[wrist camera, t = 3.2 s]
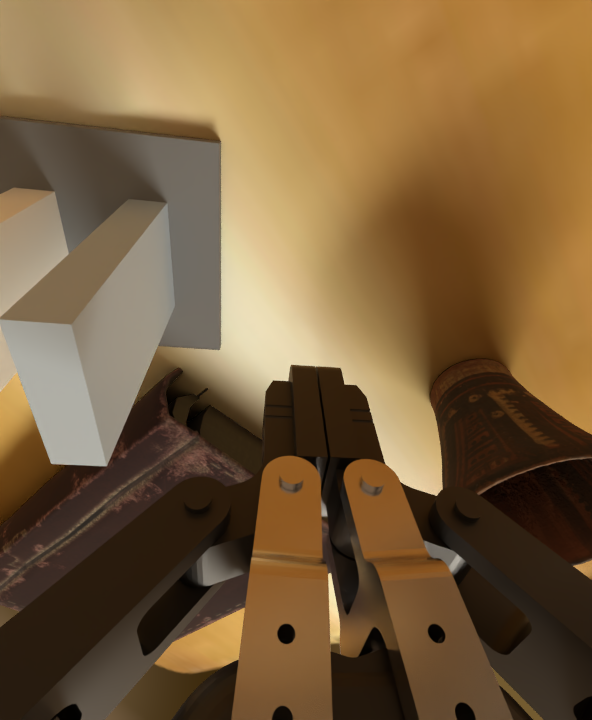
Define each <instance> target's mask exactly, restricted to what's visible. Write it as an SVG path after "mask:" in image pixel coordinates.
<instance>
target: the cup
mask: <svg viewBox="0 0 592 720" xmlns="http://www.w3.org/2000/svg"><path fill="white" fill-rule="evenodd" d="M430 401H431V406H432V408H433V410H434V413H435V416H436V421H437V426H438V432H439V438H440V445H441V455H442V482H443V489H445V488H447V487H463V488H466V489H469V490H471V491H473V492H475V493H477V494H478V495H480V496H481V497H483V498H484V499H485V500H487V501H488V502H489V503H491V504H492V505H493V506H494V507H496V508H497V509H498V510H500V511H501V512H502V513H504V514H505V515H506V516H508V517H509V518H510V519H512V520H513V521H514V522H516V523H517V524H518V525H519V526H521V527H522V528H523V529H525V530H526V531H527V532H529V533H530V534H531V535H533V536H534V537H535V538H537V539H538V540H539V541H541V542H542V543H543V544H544V545H546V546H547V547H548V548H550V549H551V550H552V551H554V552H555V553H556V554H558V555H559V556H560V557H562V558H563V559H564V560H566V561H567V562H568V563H569V564H571V565H572V566H574V565H579V564H583V563H585V562H588V561H591V560H592V435H591V434H589V433H587V432H586V431H584V430H582V429H580V428H579V427H577V426H575V425H574V424H572V423H571V422H569V421H568V420H566V419H565V418H563V417H562V416H560V415H559V414H558V413H556V412H555V411H553V410H552V409H551V408H549V407H548V406H547V405H545V404H544V403H543V402H541V401H540V400H539V399H537V398H536V397H535V396H533V395H532V394H531V393H529V392H528V391H527V390H526V389H525V388H524V387H523V386H522V385H521V384H519V383H518V382H517V381H516V379H515V378H514V377H513V376H512V374H511V373H510V371H509V370H508V369H507V368H506V367H505V366H504V365H502V364H501V363H499V362H496V361H493V360H488V359H474V360H468V361H464V362H461V363H458V364H455V365H453V366H451V367H450V368H448V369H447V370H446V371H444V372H443V373H442V374H441V375H440V376H439V377H438V378H437V379H436V381H435V382H434V384H433V388H432V392H431V395H430Z"/></svg>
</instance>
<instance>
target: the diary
mask: <svg viewBox="0 0 592 720" xmlns="http://www.w3.org/2000/svg"><path fill="white" fill-rule="evenodd" d="M182 372H183V371H182V370H181V368H177V369H176V370H174V371H173V372H171V373H170V374H168V375H167V376H165V377H164V378H163V379H162V380H161V381H160V382H159V383H158V384H157V385H156V386H155V387H153V388H152V389H151V390H150V391H149V392H148V393H147V394H146V395H145V396H144V397H143V398H142V399H141V400H140V401H138V402H137V403H136V404H135V405H134V406H133V407H132V408H131V411H130V413H129V415H128V418H127V420H126V422H125V425H124V427H123V429H122V432H121V434H120V437H119V439H118V441H117V444H116V446H115V448H114V451H113V453H112V455H111V458H110V460H109V462H108V465H107V466H87V465H67V466H65V467H64V468H63V469H62V470H61V471H59V472H58V473H57V474H56V475H55V476H54V477H52V478H51V479H50V480H49V481H48V482H47V483H46V484H45V485H44V486H43V487H41V488H40V489H39V490H38V491H37V492H36V493H35V494H34V495H33V496H32V497H31V498H30V499H29V500H28V501H27V502H26V503H25V504H24V505H23V506H22V507H21V508H19V509H18V510H17V511H16V512H15V513H14V514H13V515H12V516H11V517H10V518H9V519H8V520H6V521H5V522H4V523H3V524H1V525H0V605H2V606H5V607H8V608H11V609H14V610H17V611H19V612H20V611H21V610H22V609H24V608H25V607H26V606H27V605H29V604H30V603H31V602H32V601H34V600H35V599H36V598H37V597H38V596H40V595H41V594H42V593H43V592H45V591H46V590H47V589H48V588H50V587H51V586H52V585H53V584H55V583H56V582H57V581H58V580H60V579H61V578H62V577H63V576H64V575H66V574H67V573H68V572H69V571H71V570H72V569H73V568H74V567H76V566H77V565H78V564H79V563H81V562H82V561H83V560H84V559H86V558H87V557H88V556H89V555H90V554H92V553H93V552H94V551H95V550H97V549H98V548H99V547H100V546H102V545H103V544H104V543H105V542H107V541H108V540H109V539H110V538H112V537H113V536H114V535H115V534H116V533H118V532H119V531H120V530H121V529H123V528H124V527H125V526H126V525H128V524H129V523H130V522H131V521H133V520H134V519H135V518H136V517H138V516H139V515H140V514H141V513H142V512H144V511H145V510H146V509H147V508H149V507H150V506H151V505H152V504H154V503H155V502H156V501H157V500H159V499H160V498H161V497H162V496H164V495H165V494H166V493H167V492H168V491H170V490H171V489H172V488H173V487H175V486H176V485H177V484H179V483H180V482H182V481H184V480H186V479H189V478H192V477H200V476H203V477H210V478H213V479H216V480H218V481H220V482H221V483H222V484H223V485H225V487H226V486H230V485H234V484H238V483H241V482H244V481H246V480H248V479H250V478H252V477H253V476H254V475H255V474H256V473H257V472H258V471H259V470H260V469H261V464H262V440H261V439H259V438H258V437H256V436H255V435H253V434H252V433H250V432H249V431H247V430H246V429H245V428H243V427H242V426H240V425H239V424H237V423H236V422H234V421H233V420H231V419H230V418H228V417H227V416H226V415H224V414H223V413H221V412H220V411H218V410H217V409H215V408H214V407H212V406H211V405H210V406H209V407H207V408H206V409H205V410H204V411H202V412H201V413H200V414H198V415H197V416H196V417H195V418H193V419H192V420H191V421H189V422H188V423H187V424H186V420H187V417H188V413H189V410H190V406H192V405H193V404H194V403H195V402H196V401H197V400H198V399H199V396H201V395H202V394H203V393H204V392H206V391H207V390H208V388H206V389H205V390H204V391H202V392H201V393H200V394H199V395H197V396H196V395H195V394H192V395H187V396H183V397H178V398H176V399H175V400H174V401H173V402H172V403H170V404H169V405H168V403H167V397H166V391H167V388H168V387H169V386H170V385H171V384H172V383H173V382H174V381H175V380H176V379H177V378H178V377H179V376H180V374H181V373H182ZM328 530H329V526H328V518H327V516H322V555H323V561H325V562H326V564H327V570H328V574H329V573H331V569H330V564H329V558H328V553H327V548H326V538H327V534H328ZM249 573H250V572H248V573H245V574H242V575H239V576H236V577H233V578H230V579H227V580H225V582H224V584H223V585H222V586H221V587H220V589H219V590H218V591H217V592H216V593H215V594H214V595H213V597H212V598H211V599H210V600H209V601H208V602H207V603H206V605H205V606H204V607H203V608H202V609H201V610H200V611H199V613H198V614H197V615H196V616H195V617H194V618H193V619H192V621H191V622H190V623H189V624H188V625H187V626H186V627H185V629H184V630H183V631H182V632H181V633H180V634H179V635H178V637H177V638H176V639H175V640H174V641H176V640H178V639H180V638H182V637H184V636H186V635H188V634H190V633H193V632H195V631H197V630H199V629H201V628H203V627H205V626H207V625H209V624H211V623H213V622H215V621H217V620H219V619H221V618H223V617H226V616H228V615H230V614H232V613H234V612H236V611H238V610H240V609H242V608H245V605H246V597H247V589H248V581H249ZM174 641H173V642H174Z"/></svg>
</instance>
